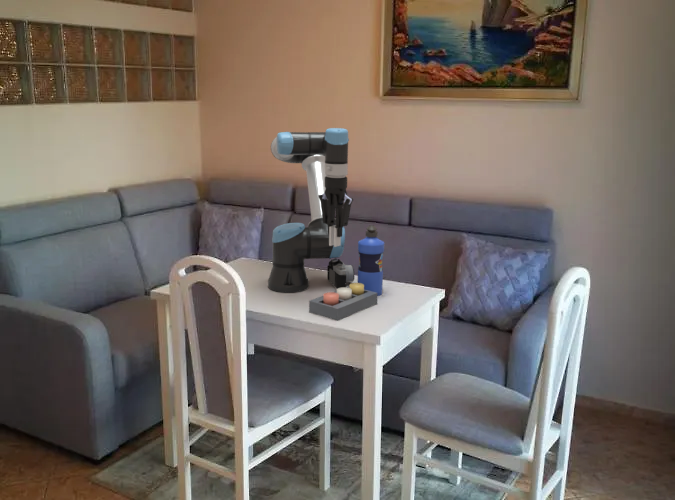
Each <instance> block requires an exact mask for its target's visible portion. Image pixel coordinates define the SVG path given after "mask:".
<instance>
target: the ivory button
mask: <svg viewBox="0 0 675 500" xmlns="http://www.w3.org/2000/svg"><path fill="white" fill-rule="evenodd" d="M346 287H347V286H346ZM346 287H341V288H338V289H336V291H337V293H338V294H339V299H341V300H345V301H346V300H349V299H352V289H350V288H346Z"/></svg>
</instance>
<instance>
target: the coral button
mask: <svg viewBox="0 0 675 500" xmlns="http://www.w3.org/2000/svg"><path fill="white" fill-rule="evenodd" d="M322 296H323V304H327V305H330V306H334V305H336V304H339V294H338V293H335V292H334V291H327V292H324V293H323V294H322Z"/></svg>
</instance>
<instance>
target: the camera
mask: <svg viewBox="0 0 675 500" xmlns="http://www.w3.org/2000/svg"><path fill="white" fill-rule="evenodd" d="M326 268H327V269H326V270H327V277H326V278H327V281H328V282H329V283H330V284H331V285H332V286H333V287H334V288H335V289H336V290H337V289H338V288H341V287H347V283H354V280H355V268H354V266H353V265H351V264H345V263H344V262H343V261H342V260H341V259H338V258H331V259H330V261H329V262H328V265H327V267H326Z"/></svg>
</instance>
